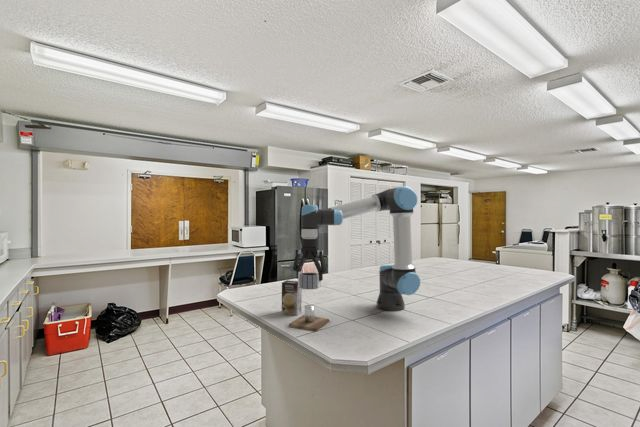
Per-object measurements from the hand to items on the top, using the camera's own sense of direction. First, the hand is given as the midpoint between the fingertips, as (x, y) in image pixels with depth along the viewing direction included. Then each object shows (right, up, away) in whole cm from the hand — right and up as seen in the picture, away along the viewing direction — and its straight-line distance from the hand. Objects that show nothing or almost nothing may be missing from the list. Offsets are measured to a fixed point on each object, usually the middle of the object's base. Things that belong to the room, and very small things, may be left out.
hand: (309, 286), depth 145 cm
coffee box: (-10, -18, +16) cm, 26 cm away
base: (0, -17, 0) cm, 17 cm away
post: (0, -16, 0) cm, 16 cm away
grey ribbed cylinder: (0, 0, 0) cm, 0 cm away
